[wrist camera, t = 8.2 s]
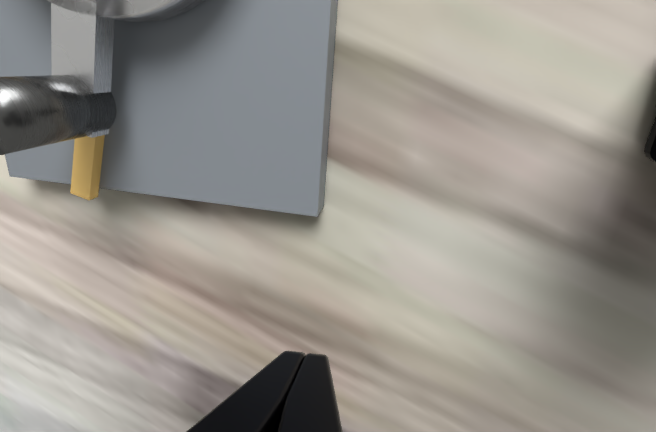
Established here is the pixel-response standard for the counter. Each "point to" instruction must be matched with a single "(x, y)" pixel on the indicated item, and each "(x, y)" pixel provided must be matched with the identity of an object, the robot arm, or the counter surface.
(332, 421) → the robot arm
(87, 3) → the silver round handled piece
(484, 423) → the counter surface
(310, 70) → the slate board
